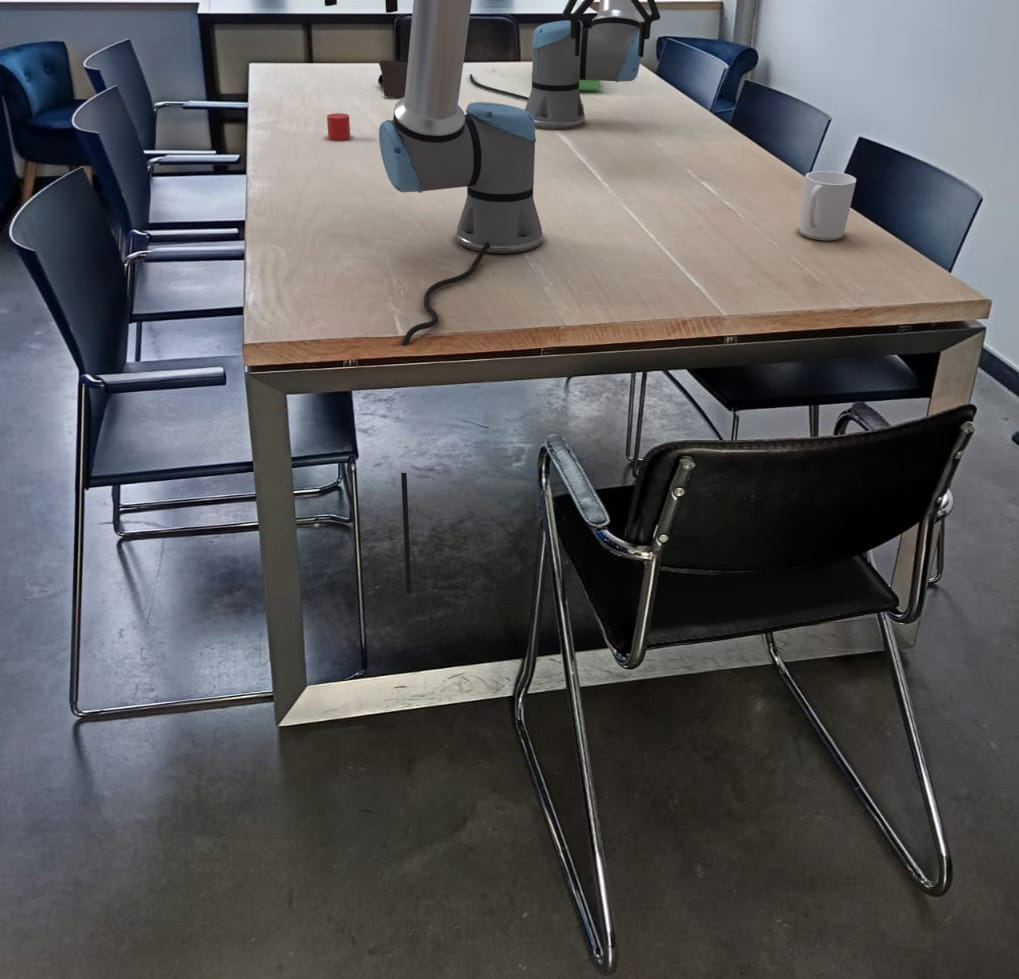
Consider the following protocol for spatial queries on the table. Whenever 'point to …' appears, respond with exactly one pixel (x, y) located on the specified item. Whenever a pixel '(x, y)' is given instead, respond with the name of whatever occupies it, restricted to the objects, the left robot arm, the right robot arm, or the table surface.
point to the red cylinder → (338, 126)
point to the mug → (826, 204)
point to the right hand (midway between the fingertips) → (608, 55)
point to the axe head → (393, 78)
